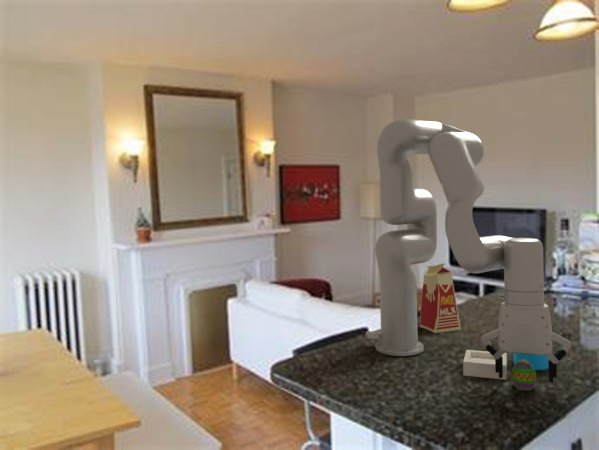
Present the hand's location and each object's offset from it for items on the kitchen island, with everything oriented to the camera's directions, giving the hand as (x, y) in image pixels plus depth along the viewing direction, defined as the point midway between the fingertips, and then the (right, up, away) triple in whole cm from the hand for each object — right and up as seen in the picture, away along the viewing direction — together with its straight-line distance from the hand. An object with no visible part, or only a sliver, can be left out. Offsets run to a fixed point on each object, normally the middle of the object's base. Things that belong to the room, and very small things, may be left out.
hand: (525, 378), depth 109 cm
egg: (0, -2, +1) cm, 2 cm away
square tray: (-4, -2, +11) cm, 12 cm away
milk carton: (-5, +1, +48) cm, 48 cm away
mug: (+9, -1, +16) cm, 18 cm away
